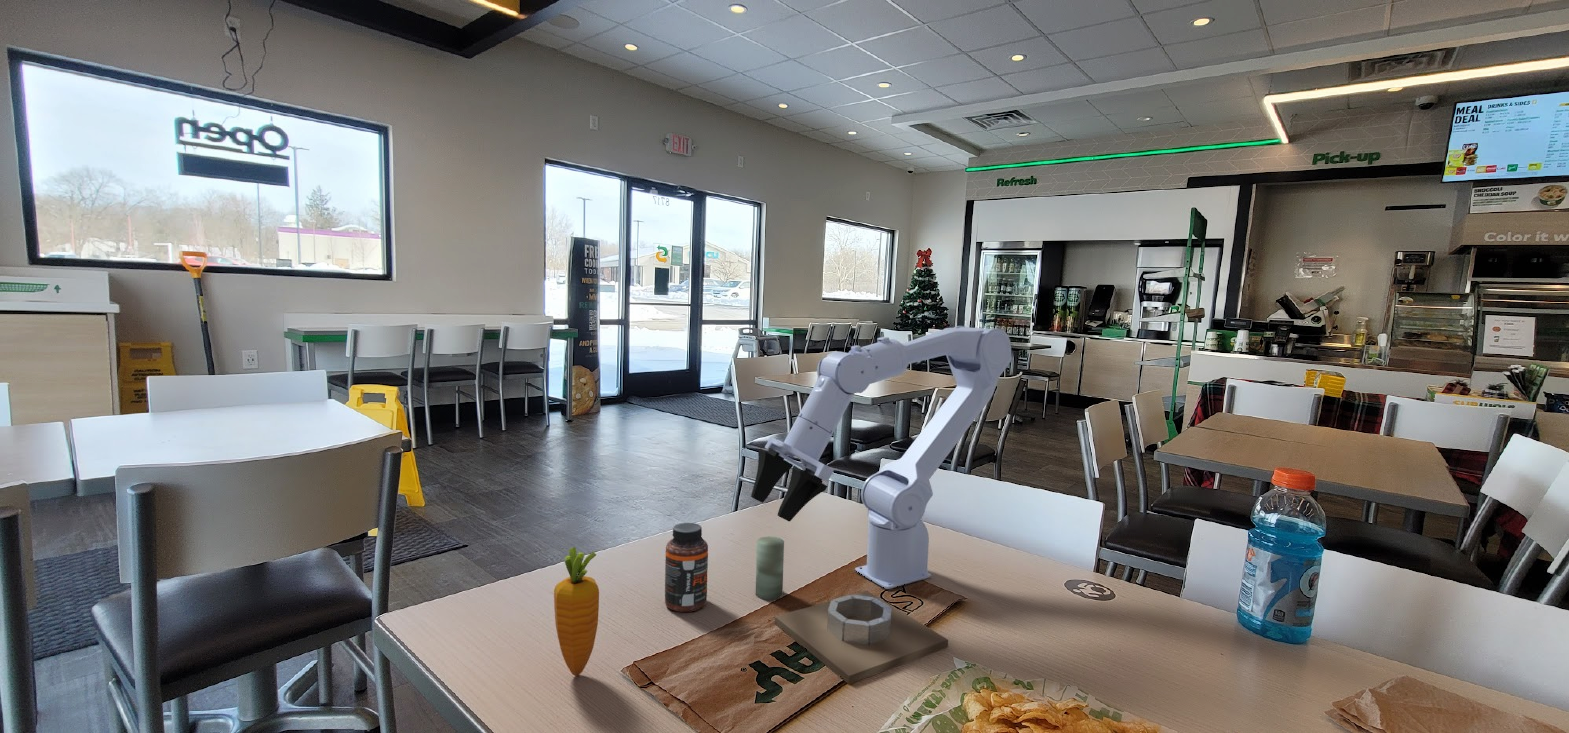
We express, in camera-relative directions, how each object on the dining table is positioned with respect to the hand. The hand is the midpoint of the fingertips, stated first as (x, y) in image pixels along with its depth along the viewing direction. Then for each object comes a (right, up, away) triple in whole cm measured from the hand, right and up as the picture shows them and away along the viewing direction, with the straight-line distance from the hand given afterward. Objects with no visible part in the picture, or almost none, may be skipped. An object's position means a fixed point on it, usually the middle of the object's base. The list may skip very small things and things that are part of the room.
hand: (769, 508), depth 93 cm
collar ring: (+12, -15, -8) cm, 21 cm away
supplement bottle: (-12, -14, -1) cm, 18 cm away
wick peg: (0, -13, +3) cm, 14 cm away
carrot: (-22, -15, -19) cm, 33 cm away
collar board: (+12, -15, -8) cm, 21 cm away
